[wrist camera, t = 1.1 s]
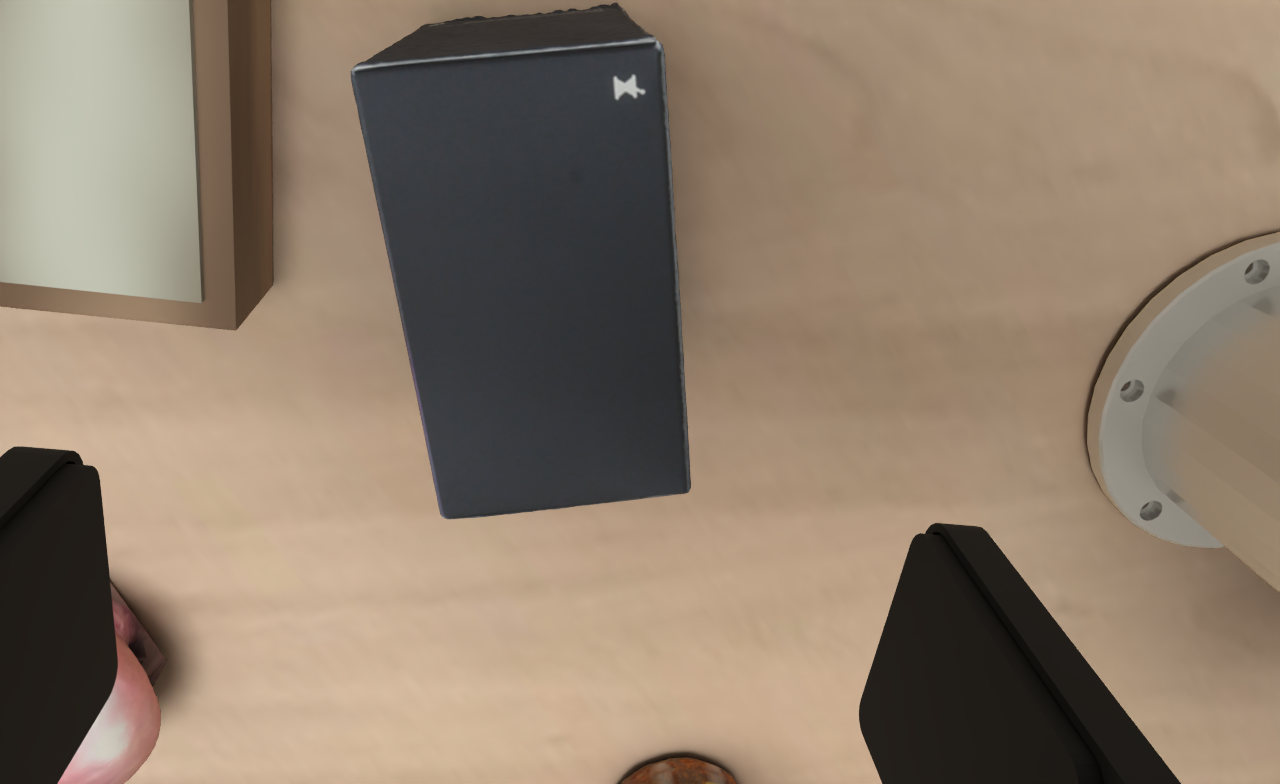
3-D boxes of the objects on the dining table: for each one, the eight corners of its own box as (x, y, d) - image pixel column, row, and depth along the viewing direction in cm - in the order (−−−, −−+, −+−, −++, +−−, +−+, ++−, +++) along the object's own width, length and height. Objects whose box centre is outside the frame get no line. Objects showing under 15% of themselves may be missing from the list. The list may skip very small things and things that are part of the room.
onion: (-7, 690, 36) (-199, 811, 29) (37, 522, 34) (-157, 609, 27) (173, 782, 35) (22, 927, 29) (229, 617, 33) (82, 730, 27)
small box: (402, 21, 27) (328, 55, 17) (627, 0, 27) (677, 22, 17) (462, 358, 31) (429, 532, 22) (654, 336, 31) (704, 498, 22)
